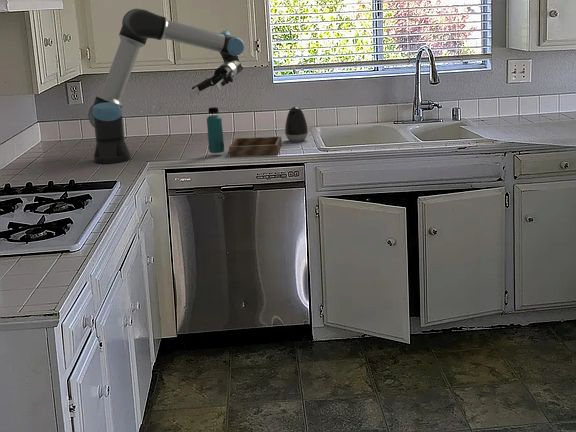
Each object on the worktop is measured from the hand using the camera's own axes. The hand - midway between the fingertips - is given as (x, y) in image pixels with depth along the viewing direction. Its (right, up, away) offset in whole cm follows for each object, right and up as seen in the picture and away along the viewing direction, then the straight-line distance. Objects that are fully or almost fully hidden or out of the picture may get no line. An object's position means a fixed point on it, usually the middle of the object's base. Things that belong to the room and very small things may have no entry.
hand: (204, 91), depth 360 cm
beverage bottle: (+5, -27, +1) cm, 27 cm away
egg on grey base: (+39, -19, +24) cm, 49 cm away
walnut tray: (+22, -24, +6) cm, 33 cm away
